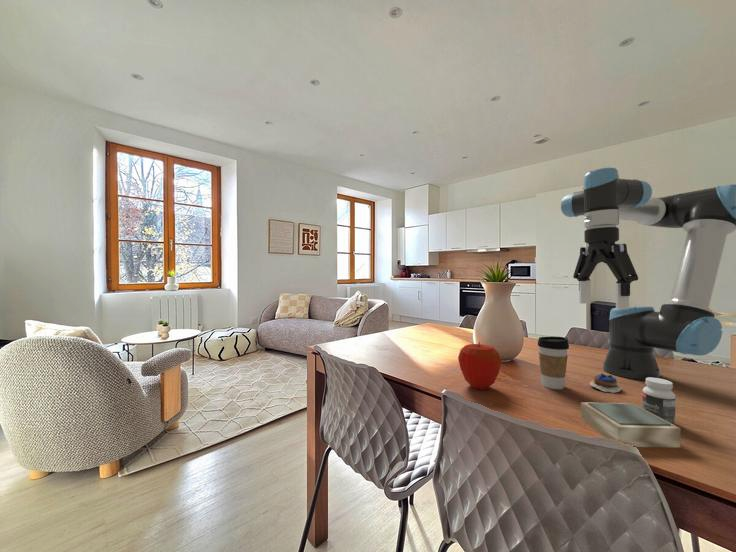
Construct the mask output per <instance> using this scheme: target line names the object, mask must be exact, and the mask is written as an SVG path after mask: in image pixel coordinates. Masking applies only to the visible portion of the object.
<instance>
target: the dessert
mask: <svg viewBox="0 0 736 552" xmlns="http://www.w3.org/2000/svg"><path fill="white" fill-rule="evenodd" d="M600 373H601V374H597V375H595V376H594V379H592V380H591V381H589V385H590V386H591V387H593V388H595V389H598V390H600V391H602V392H605V393H606V392H607V393H608V392H609V393H612V394H614V393H619V392H621V390H622V387H621V386H620V385H618V382H617V378H616V377H614V376H613V374H608V375H607V374H604V373H602V372H600Z"/></svg>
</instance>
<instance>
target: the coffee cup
mask: <svg viewBox="0 0 736 552" xmlns="http://www.w3.org/2000/svg"><path fill="white" fill-rule="evenodd" d="M537 346H538V349H539V351H538V358H539V368H540V376H541V379H540V380H541V386H543V387H544V388H548V389H552V390H564V388H565V382H566V373H567V364H568V363H567V362H568V357H569V356H568V350H569V349H570V348H569V347H570V345H569V339H568V338H567V337H563V336H541V337H538V341H537Z"/></svg>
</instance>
